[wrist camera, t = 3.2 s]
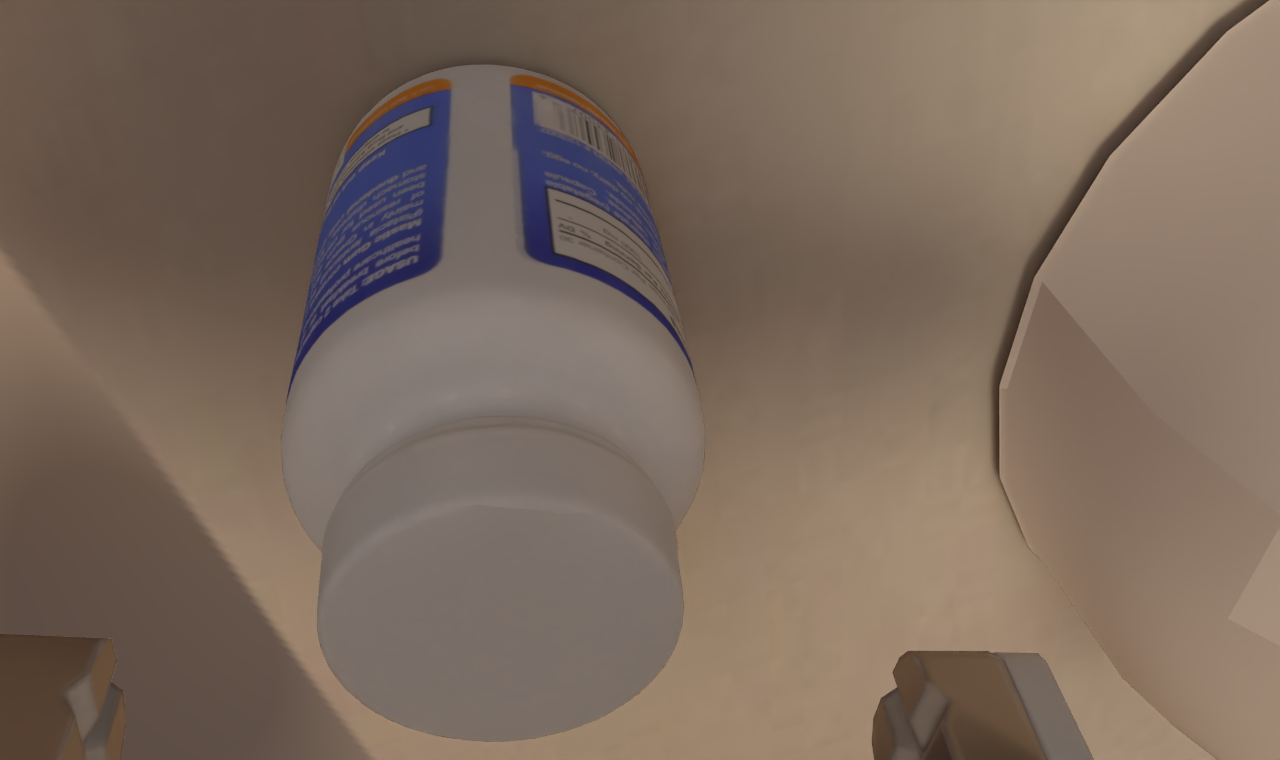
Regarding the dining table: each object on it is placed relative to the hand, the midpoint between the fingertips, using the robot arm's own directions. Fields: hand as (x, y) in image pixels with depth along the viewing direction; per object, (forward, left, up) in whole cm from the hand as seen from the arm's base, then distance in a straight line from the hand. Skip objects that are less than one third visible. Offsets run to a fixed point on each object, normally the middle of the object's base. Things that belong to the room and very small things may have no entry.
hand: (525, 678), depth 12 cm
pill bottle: (0, 0, -11) cm, 11 cm away
